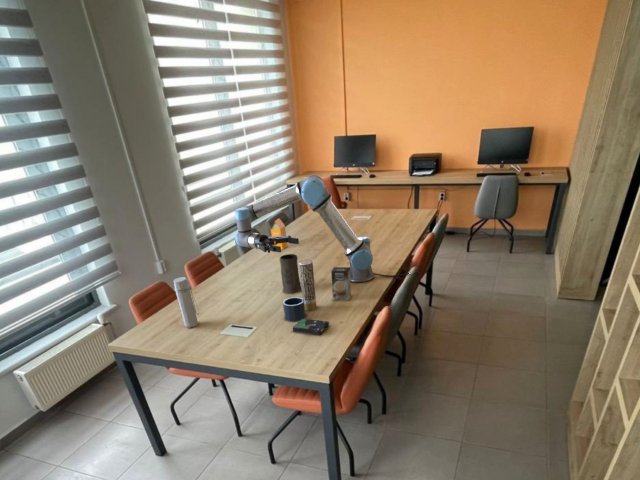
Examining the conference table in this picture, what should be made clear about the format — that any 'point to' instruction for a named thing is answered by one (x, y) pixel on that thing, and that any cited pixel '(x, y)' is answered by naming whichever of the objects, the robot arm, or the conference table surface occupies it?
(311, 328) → the disk drive
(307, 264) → the paper tube
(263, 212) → the robot arm
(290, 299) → the pen pot
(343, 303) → the conference table surface
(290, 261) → the beer stein
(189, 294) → the water bottle
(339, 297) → the coffee box
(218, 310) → the conference table surface
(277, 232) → the orange juice
